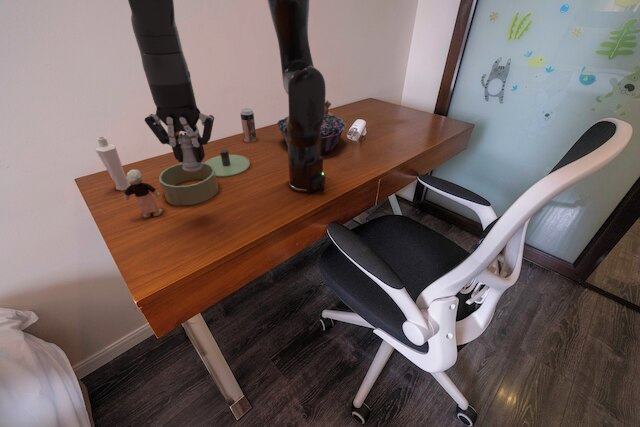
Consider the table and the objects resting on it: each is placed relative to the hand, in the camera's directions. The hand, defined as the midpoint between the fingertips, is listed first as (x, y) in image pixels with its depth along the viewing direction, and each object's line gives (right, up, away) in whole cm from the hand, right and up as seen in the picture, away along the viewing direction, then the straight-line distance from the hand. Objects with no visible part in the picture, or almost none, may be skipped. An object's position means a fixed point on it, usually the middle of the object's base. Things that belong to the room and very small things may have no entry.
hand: (191, 160), depth 64 cm
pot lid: (-2, +4, +30) cm, 30 cm away
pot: (-8, -6, +17) cm, 20 cm away
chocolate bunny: (+32, +31, +69) cm, 83 cm away
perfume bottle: (-28, -4, +19) cm, 34 cm away
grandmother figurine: (-15, -12, +9) cm, 21 cm away
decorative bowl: (+26, +16, +48) cm, 57 cm away
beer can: (+2, +17, +48) cm, 51 cm away
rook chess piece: (0, -2, +1) cm, 2 cm away
